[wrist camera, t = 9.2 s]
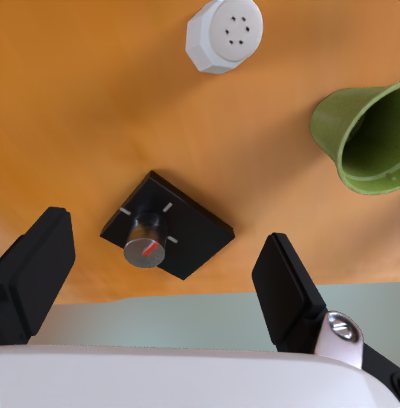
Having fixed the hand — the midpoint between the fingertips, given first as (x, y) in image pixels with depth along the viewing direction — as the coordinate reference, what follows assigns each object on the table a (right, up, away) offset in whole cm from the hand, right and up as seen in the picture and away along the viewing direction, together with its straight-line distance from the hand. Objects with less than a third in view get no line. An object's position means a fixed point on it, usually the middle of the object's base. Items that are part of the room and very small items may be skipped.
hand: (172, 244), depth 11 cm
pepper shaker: (+3, +17, +10) cm, 20 cm away
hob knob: (-5, -1, +18) cm, 19 cm away
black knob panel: (-3, -1, +21) cm, 21 cm away
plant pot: (+16, +11, +15) cm, 25 cm away
